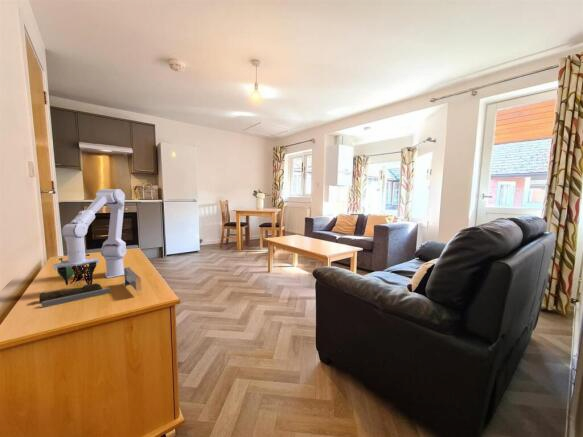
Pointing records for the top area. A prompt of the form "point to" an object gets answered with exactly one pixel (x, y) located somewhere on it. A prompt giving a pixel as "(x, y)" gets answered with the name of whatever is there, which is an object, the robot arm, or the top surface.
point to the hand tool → (68, 292)
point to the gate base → (125, 284)
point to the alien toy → (67, 269)
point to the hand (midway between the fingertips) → (79, 282)
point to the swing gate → (132, 279)
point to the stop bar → (75, 297)
